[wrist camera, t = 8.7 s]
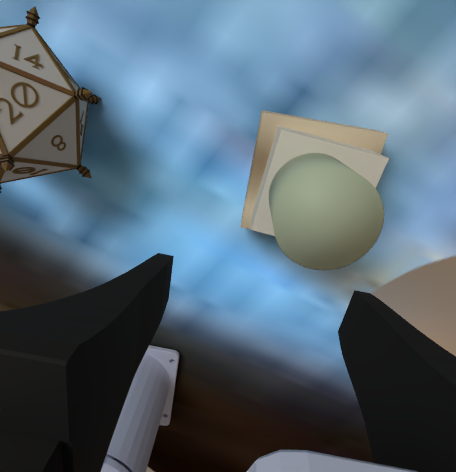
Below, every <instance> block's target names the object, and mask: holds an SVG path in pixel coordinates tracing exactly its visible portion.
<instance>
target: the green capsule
mask: <svg viewBox="0 0 456 472" xmlns="http://www.w3.org/2000/svg"><path fill="white" fill-rule="evenodd" d="M269 206H270V211H271V217H272V223H273V228H274V233H275V238H276V240H277V243H278V245H279V247H280V248H281V250H282V251H283V252H284V254H285V255H286V256H287V257H288V258H290V259H291V260H292V261H294V262H295V263H297V264H299V265H301V266H303V267H306V268H310V269H315V270H332V269H338V268H341V267H344V266H347V265H349V264H351V263H353V262H355V261H357V260H358V259H360V258H361V257H362V256H364V255H365V254H366V253H367V252H368V251H369V250H370V249H371V248H372V247H373V245H374V244H375V242H376V241H377V239H378V237H379V235H380V233H381V230H382V226H383V222H384V208H383V203H382V200H381V198H380V195H379V193H378V192H377V190H376V189H375V187H374V186H373V185H372V184H371V183H370V182H369V181H368V180H366V179H365V178H364V177H362V176H361V175H359V174H358V173H356V172H355V171H353V170H352V169H351V168H349V167H348V166H346V165H345V164H343V163H342V162H341V161H339V160H338V159H336V158H334V157H332V156H330V155H327V154H322V153H307V154H303V155H300V156H297V157H295V158H293V159H291V160H289V161H288V162H286V163H285V164H284V165H283V166H282V167H281V168H280V169H279V170H278V171H277V173H276V174H275V176H274V178H273V180H272V182H271V185H270V189H269Z"/></svg>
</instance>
